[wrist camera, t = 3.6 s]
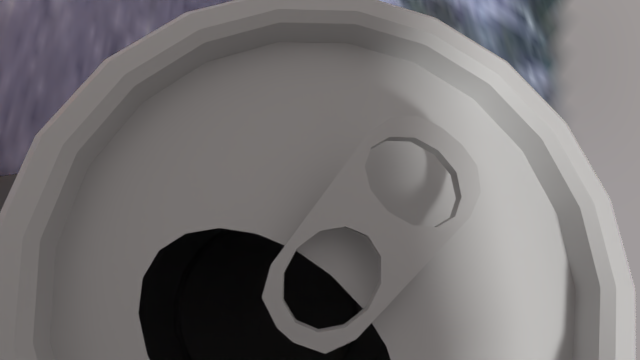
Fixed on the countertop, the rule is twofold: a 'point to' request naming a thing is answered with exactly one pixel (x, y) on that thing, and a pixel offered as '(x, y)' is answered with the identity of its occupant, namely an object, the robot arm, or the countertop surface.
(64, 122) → the can
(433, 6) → the countertop surface
